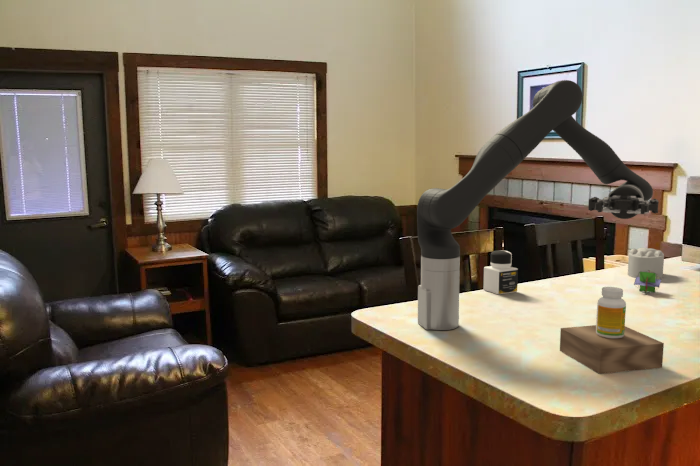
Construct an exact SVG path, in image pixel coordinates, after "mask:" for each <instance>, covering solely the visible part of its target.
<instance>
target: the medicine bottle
mask: <svg viewBox="0 0 700 466" xmlns="http://www.w3.org/2000/svg"><path fill="white" fill-rule="evenodd" d="M512 255H513V254H512V252H510V251H508V250H501V249H500V250H499V249H497V250H494V251H491V252H490V265H489V266H484V267H483V291H487V292H489V293H493V294H496V295H498V296H499V295H506V294H512V293H517V292H518V276H519V275H518V274H519V268H517V267H513V266H512V265H513V264H512V260H513V258H512V257H513V256H512Z"/></svg>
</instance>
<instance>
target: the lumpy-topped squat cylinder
mask: <svg viewBox="0 0 700 466" xmlns="http://www.w3.org/2000/svg"><path fill="white" fill-rule="evenodd" d="M664 262H665V254H664V252H663V251H662V250H660V249H655V248H647V247H639V248H637V249H636V248H634V247H633V248H632V249H630V250H629V253H628V261H627V276H628V277H631V278H633V279H636V276H638V277H640V273H639V272H646V271H647V272H649V271H648V270H650V271H653V272H655V273H657V275H658V276H659V277H660V279H662V278H663V277H664ZM638 273H639V275H638Z"/></svg>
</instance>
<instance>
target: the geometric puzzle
mask: <svg viewBox="0 0 700 466" xmlns="http://www.w3.org/2000/svg"><path fill="white" fill-rule="evenodd" d="M648 271H649V272H647V271H646V272H639V273H640V277H638V276H636V278H634V279H635V280H634V283H633V285H634V286H636V289H638V291H639V292H642V293H643V294H644V295H647V293H653V294H654V293H656V291H658V289H660V287H661V282H662V278H660V277H659V276H658V275H657V273H655V272H653V271H650V270H648ZM639 273H638V275H639ZM637 286H638V287H637Z"/></svg>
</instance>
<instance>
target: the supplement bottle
mask: <svg viewBox="0 0 700 466" xmlns="http://www.w3.org/2000/svg"><path fill="white" fill-rule="evenodd" d="M601 295H602V297H599V299H597V307H596V323H595V325H596V334H597V335H599V336H601V337H605V338H611V339H617V338H622V337H623V336H624V331H625V326H626V314H627V313H626V312H627V311H626V309H627V303H626V301H625V300H624V299H623V297H624V290H623V288H620V287H615V286H604V287H602V288H601Z"/></svg>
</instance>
